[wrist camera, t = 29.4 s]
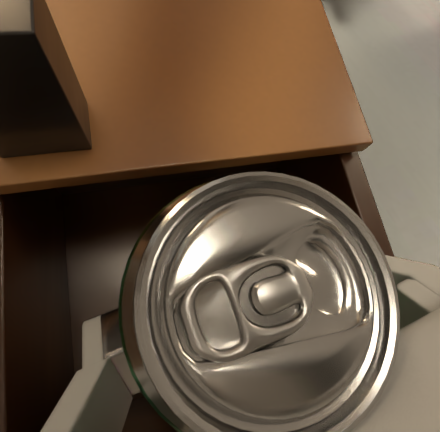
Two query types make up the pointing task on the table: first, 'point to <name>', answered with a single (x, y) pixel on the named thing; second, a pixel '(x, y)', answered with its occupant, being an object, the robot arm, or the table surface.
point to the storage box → (103, 271)
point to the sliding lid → (167, 88)
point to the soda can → (259, 309)
